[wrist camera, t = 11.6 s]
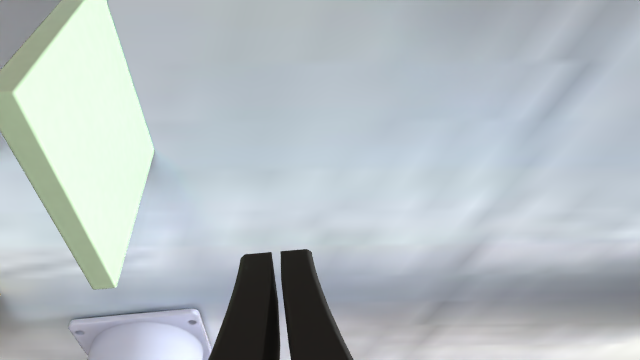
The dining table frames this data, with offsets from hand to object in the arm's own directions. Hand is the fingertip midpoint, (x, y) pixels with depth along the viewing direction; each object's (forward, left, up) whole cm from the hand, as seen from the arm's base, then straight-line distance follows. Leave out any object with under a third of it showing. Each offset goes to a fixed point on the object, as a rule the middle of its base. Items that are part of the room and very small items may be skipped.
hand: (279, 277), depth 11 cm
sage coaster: (0, +6, -10) cm, 12 cm away
